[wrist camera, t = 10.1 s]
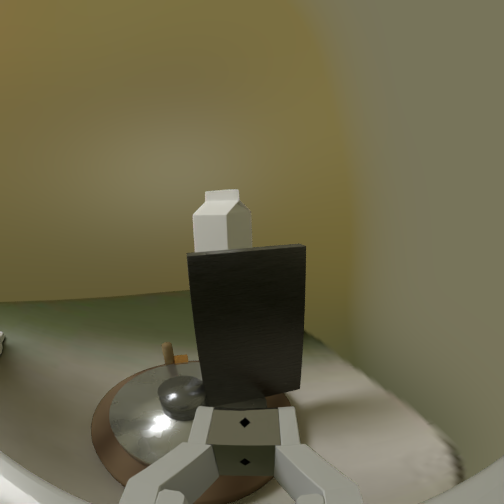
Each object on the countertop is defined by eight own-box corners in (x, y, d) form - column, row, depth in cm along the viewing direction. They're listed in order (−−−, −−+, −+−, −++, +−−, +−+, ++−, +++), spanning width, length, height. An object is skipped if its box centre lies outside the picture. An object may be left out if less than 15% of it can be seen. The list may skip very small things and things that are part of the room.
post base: (66, 472, 13) (39, 438, 12) (135, 364, 32) (127, 332, 31) (303, 512, 12) (312, 486, 11) (285, 369, 32) (286, 336, 31)
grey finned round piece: (105, 475, 13) (19, 298, 10) (124, 367, 29) (98, 245, 26) (330, 443, 17) (359, 266, 14) (268, 350, 33) (266, 231, 30)
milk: (225, 323, 46) (217, 191, 41) (255, 330, 43) (251, 189, 38) (202, 337, 41) (190, 191, 36) (234, 347, 37) (225, 188, 33)
